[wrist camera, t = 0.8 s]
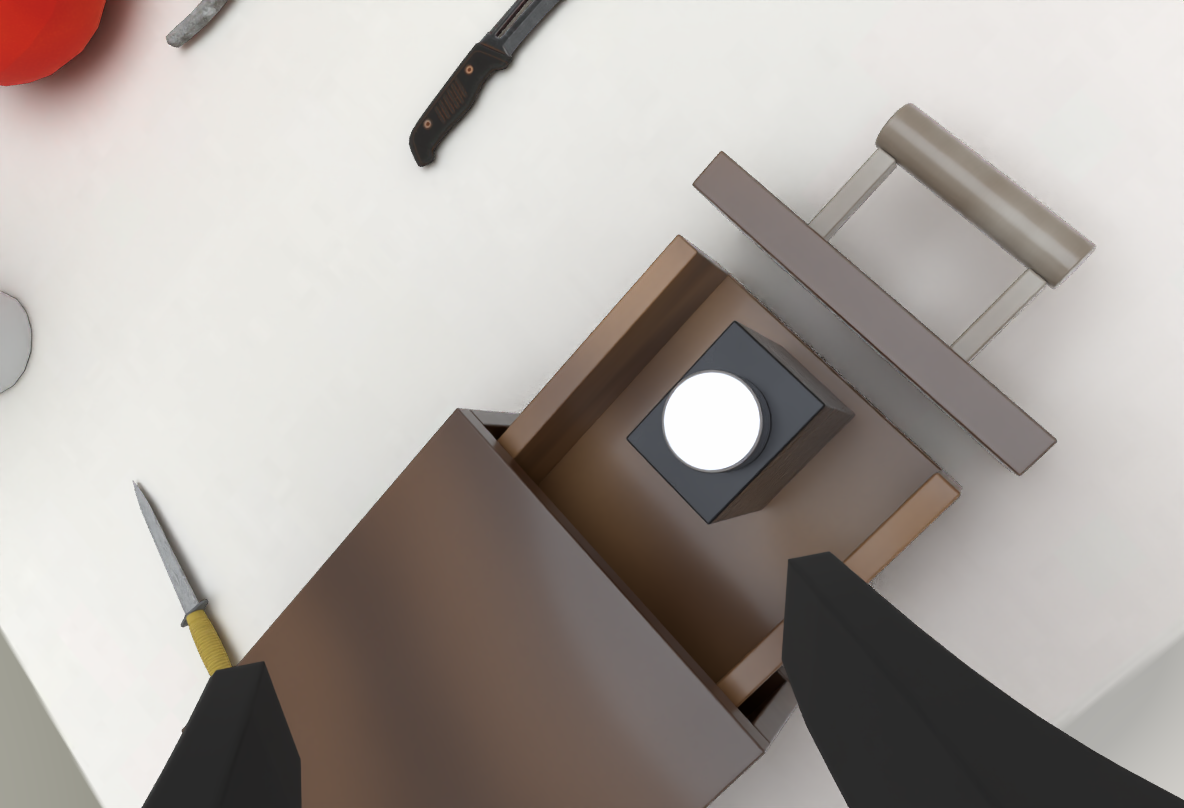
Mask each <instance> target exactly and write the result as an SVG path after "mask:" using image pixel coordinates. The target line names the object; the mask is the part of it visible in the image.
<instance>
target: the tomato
mask: <svg viewBox="0 0 1184 808" xmlns="http://www.w3.org/2000/svg"><path fill="white" fill-rule="evenodd" d="M105 3H106V0H0V85H2V86H10V85H18V84H26V83H30V82H33V81H36V80H38V79H41V78H44V77H47V76H49V75H52V74H53V73H54V72H56V71H57V70H58V69H60V68H61V67H62V66H64V65H65V64H66V63H68V62H69V61H70V60H71V59H73V58H74V57H75V56H77V55H78V54H79V53H81V52H82V51H83V50H84V48H85V47H86V45H87V44H88V42H89V41H90V39H91V38H92V36H93V35H94V33H95V32H96V30H97V29H98V27H99V23H100V20H101V16H102V13H103V10H104V6H105Z"/></svg>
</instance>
